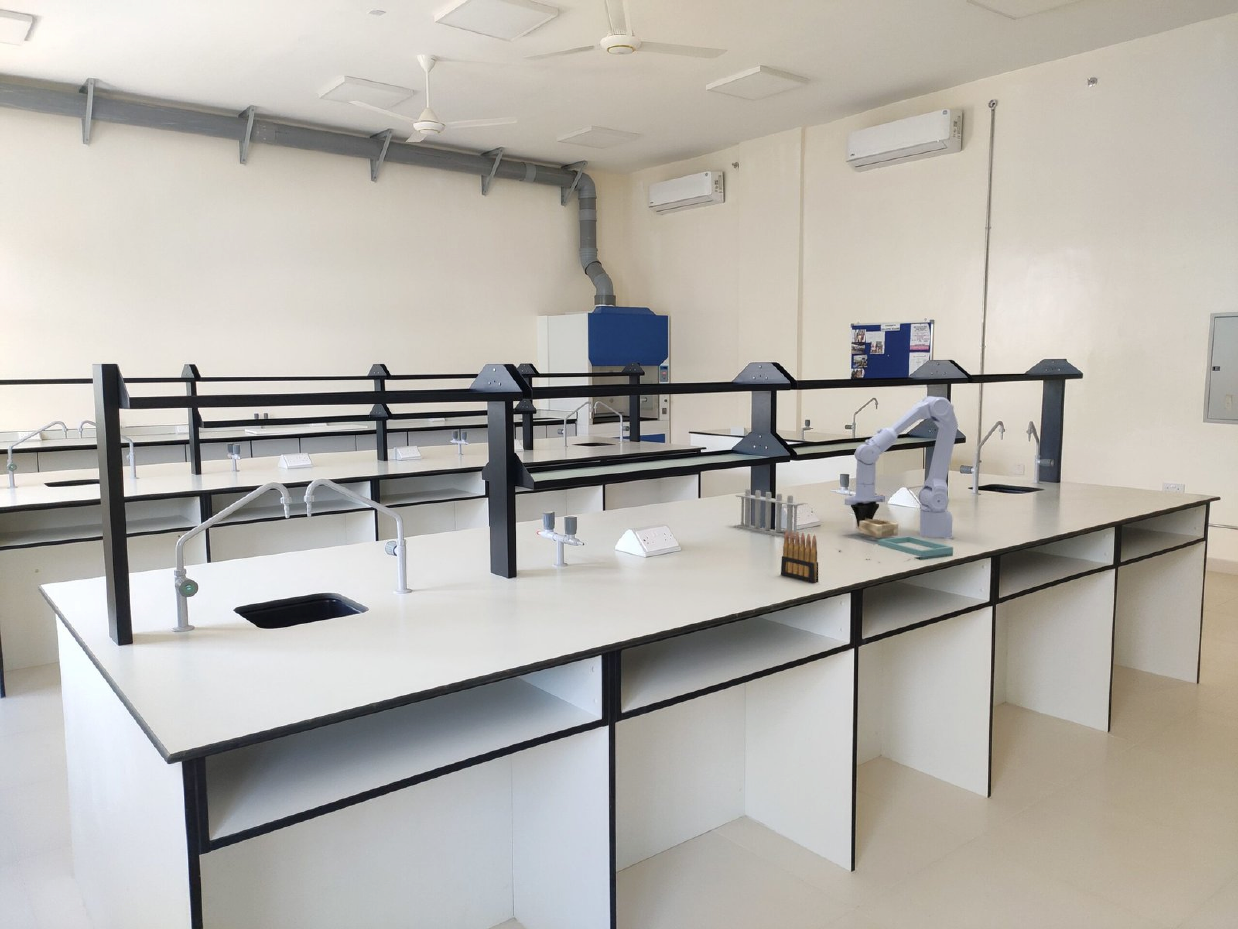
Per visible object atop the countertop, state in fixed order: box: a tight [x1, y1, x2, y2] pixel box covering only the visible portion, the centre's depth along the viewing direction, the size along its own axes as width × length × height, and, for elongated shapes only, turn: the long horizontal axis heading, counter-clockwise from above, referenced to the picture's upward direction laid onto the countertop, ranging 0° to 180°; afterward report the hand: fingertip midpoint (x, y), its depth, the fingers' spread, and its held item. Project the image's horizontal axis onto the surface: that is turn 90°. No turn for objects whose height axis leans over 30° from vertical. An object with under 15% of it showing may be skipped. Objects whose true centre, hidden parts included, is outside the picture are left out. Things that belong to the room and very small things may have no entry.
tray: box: [877, 535, 954, 561], centre depth 244 cm, size 12×17×2 cm
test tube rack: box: [734, 488, 804, 540], centre depth 272 cm, size 25×4×13 cm, turn 39°
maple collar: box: [855, 518, 899, 538], centre depth 260 cm, size 12×8×4 cm, turn 26°
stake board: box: [843, 524, 897, 545], centre depth 259 cm, size 14×13×5 cm
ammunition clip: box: [780, 529, 819, 584], centre depth 214 cm, size 11×2×12 cm, turn 39°
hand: (864, 526), depth 263 cm, fingers closed on maple collar, 2 cm apart
